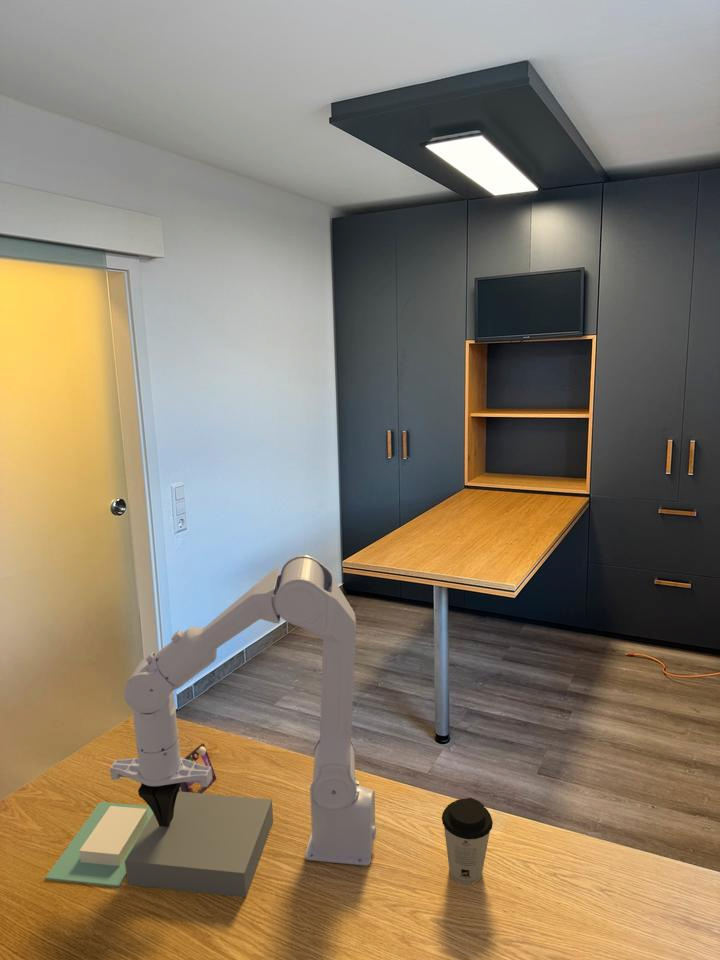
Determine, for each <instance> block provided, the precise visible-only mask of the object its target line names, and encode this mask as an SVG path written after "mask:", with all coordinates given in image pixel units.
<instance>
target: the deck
mask: <svg viewBox="0 0 720 960" xmlns="http://www.w3.org/2000/svg"><path fill="white" fill-rule="evenodd" d="M273 812H274V811H273V799H271V798H260V797H259V798H258V797H249V796H237V795H235V796H234V795H227V794H226V795H224V794H216V793H215V794H211V793H204V792H203V793H198V792H192V791H190V792H179V791H178V794H177V797H176V801H175V806H174V815H173V819H172V821H171V822H170V824H169V826H168V827H164V826H159V824H158V822H157V819H156V817H155V815H154V813H153V815H152V816H151V818H150V820H149V821H148V823H147V825H146V826H145V828H144V830H143V831H142V833H141V835H140V836H139V838H138V840H137V841H136V843H135V845H134V846H133V848H132V850H131V851H130V853H129V855H128V856H127V858H126V860H125V867H126V882H127V886H135V887H142V888H143V887H144V888H151V889H152V888H153V889H162V890H170V891H180V892H181V891H182V892H189V893H191V892H192V893H198V894H199V893H200V894H211V895H219V896H227V897H228V896H229V897H237V898H238V897H239V898H247V896H248V894H249V890H250V887H251V884H252V881H253V879H254V876H255V873H256V871H257V868H258V865H259V862H260V860H261V857H262V854H263V851H264V848H265V845H266V843H267V839H268V837H269V835H270V831H271V828H272V826H273V823H274V813H273Z"/></svg>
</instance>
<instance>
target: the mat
mask: <svg viewBox="0 0 720 960" xmlns="http://www.w3.org/2000/svg"><path fill="white" fill-rule="evenodd" d="M110 806H118V807H129V808H141V809H147V816H148V821H149V820H150V818H151V816H152V815H153V811H152V810H151V808H150V807H149V805H139V804H126V803H118V802H117V803H116V802H105V801H103V802H102V801H99V803H98V804H97V805H96V807H95V808H94V810H93V811H92V812H91V814H90V815H89V817H87V819H86V821H85V822H84V823H83V825H82V826H81V828H80V829H79V830H78V831H77V833H76V834H75V836H74V837H73V839H72V840H71V841H70V843H69V844H68V846H67V847H66V848H65V849H64V851H63V852H62V854H61V855H60V856H59V858H58V859H57V861H56V862H55V863H54V865H53V866H52V868H51V869H50V870H49V872H48V873H47V874H46V876H45V877H44V879H45V880H50V881H58V882H67V883H76V884H86V885H95V886H106V887H114V888H120V887H121V885H122V883H123V882H124V879H125V878H126V877H127V875H126V867H125V860H126V858H127V856H128V855H129V853H130V851H131V850H132V848H133V846H134V845H135V843H136V841H137V840H138V838H139V836H140V835H141V833H142V831H143V830H144V828H145V826H146V825H147V823H148V821H147V822H146V824H145V826H144V827H143V829H142V831H141V832H140V834H139V836H138V837H137V839H136V841H135V842H134V844H133V846H132V847H131V849H130V851H129V852H128V854H127V856H126V857H125V859H124V861H123V862H122V864H121V865H120V866H113V865H104V864H94V863H84V862H81V859H80V852H79V850H80V849H81V847H82V846H83V845H84V843H85V842H86V840H87V839H88V837H89V836H90V835H91V833H92V832H93V830H94V829H95V827H96V826H97V824H98V823H99V822H100V820H101V819H102V817H103V816H104V814H105V813H106V812H107V810H108V809H109V807H110Z"/></svg>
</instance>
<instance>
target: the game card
mask: <svg viewBox="0 0 720 960" xmlns="http://www.w3.org/2000/svg"><path fill="white" fill-rule="evenodd" d="M209 756H210V755H209V754H208V751H207V748H206V746H205V743H200V744H199V745H198V746H197V747H195V748H194V749H193V750H192V751H191V752H189V754H188V755H186V756H185V757H183V758H184V759H187V760H189V761H192V762H195V763H197V764H199V761H198V760H199V757H201V759H202V761H203V763H204V766H210V767H211V769H212V779H211V781H210V783H209V785H208V787H202V788H201V789H200V790H199V791H198V792H197V793H203V794H204V792H205V791H206V790H207V789H208V788H209V787H210V786H211V785H212V784H213V783H215V781H216V780H217V776H216V773H215V771H214V768H213V765H212V762H211V759H210V757H209ZM194 784H195V783H190V782H182V783H181V785H180V788H179V792H191V789H190V787H191V786H193V785H194Z"/></svg>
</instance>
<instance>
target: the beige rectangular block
mask: <svg viewBox="0 0 720 960" xmlns="http://www.w3.org/2000/svg"><path fill="white" fill-rule="evenodd" d="M147 821H148V816H147V809H141V808H129V807H118V806H110V807H109V809H108V810H107V812H106V813H105V814H104V816H103V817H102V819H101V820H100V822H99V823H98V824H97V826H96V827H95V829H94V830H93V832H92V833H91V835H90V836H89V837H88V839H87V840H86V842H85V843H84V845H83V846H82V847H81V849H80V850H79V852H80V859H81V862H84V863H94V864H104V865H113V866H120V865H121V864H122V862H123V861H124V859H125V857H126V856H127V854H128V852H129V851H130V849H131V847H132V846H133V844H134V842H135V841H136V839H137V837H138V836H139V834H140V832H141V831H142V829H143V827H144V826H145V824H146V822H147Z"/></svg>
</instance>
